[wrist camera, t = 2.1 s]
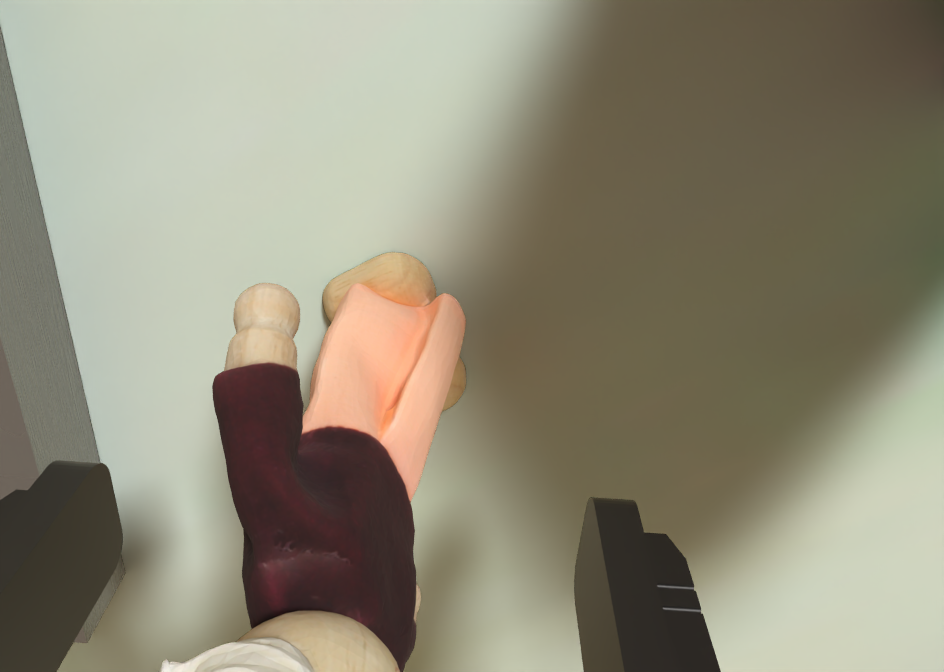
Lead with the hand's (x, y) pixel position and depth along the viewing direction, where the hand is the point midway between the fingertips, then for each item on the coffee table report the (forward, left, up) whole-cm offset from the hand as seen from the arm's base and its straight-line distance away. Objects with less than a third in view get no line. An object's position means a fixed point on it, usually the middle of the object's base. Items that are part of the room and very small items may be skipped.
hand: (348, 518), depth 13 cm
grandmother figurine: (0, 0, -7) cm, 7 cm away
